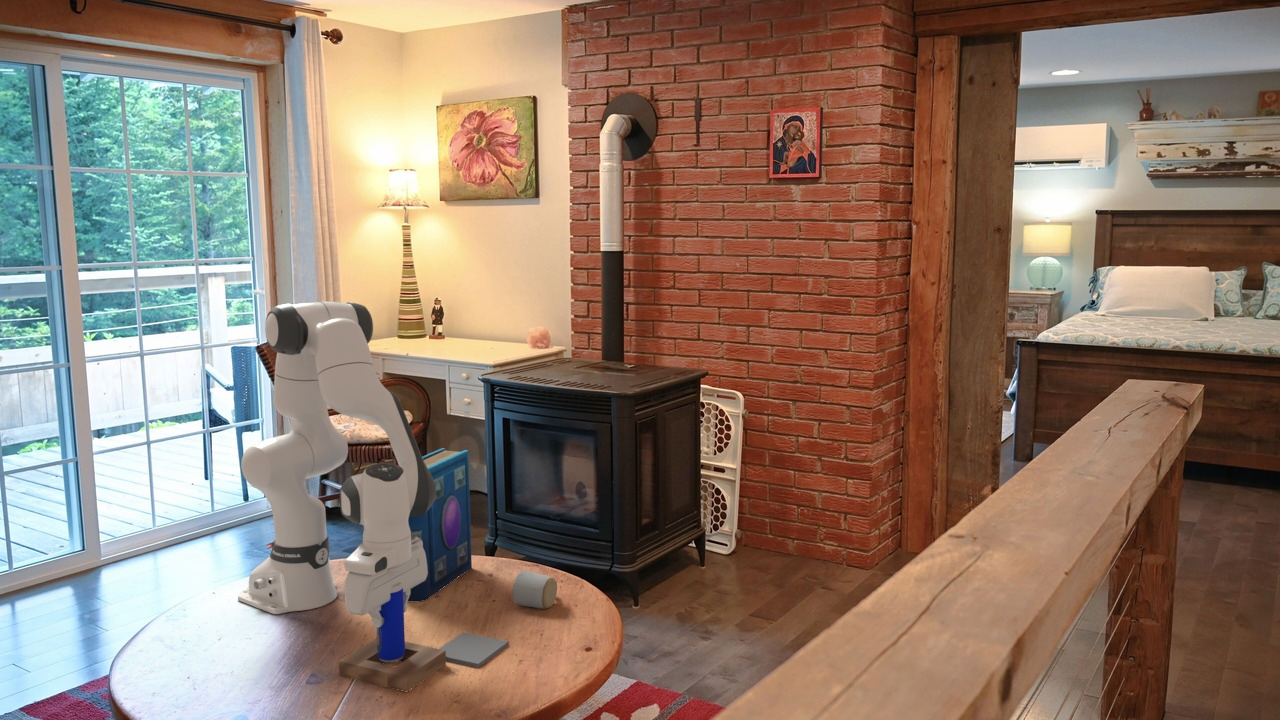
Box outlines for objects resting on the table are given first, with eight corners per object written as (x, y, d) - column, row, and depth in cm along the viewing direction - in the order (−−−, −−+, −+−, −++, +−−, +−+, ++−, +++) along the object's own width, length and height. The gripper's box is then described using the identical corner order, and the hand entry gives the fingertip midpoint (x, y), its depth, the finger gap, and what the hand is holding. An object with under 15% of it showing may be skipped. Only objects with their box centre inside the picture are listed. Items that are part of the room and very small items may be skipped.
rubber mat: (431, 657, 190) (431, 653, 190) (463, 635, 200) (463, 631, 200) (478, 667, 186) (478, 663, 185) (508, 644, 195) (508, 641, 195)
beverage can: (380, 651, 187) (377, 578, 184) (407, 650, 187) (404, 577, 185) (375, 663, 182) (372, 588, 179) (402, 663, 182) (400, 588, 180)
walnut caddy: (339, 675, 182) (338, 660, 182) (380, 650, 193) (379, 636, 193) (407, 692, 176) (406, 677, 176) (446, 664, 187) (445, 650, 186)
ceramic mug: (545, 614, 211) (544, 581, 210) (511, 609, 213) (511, 576, 212) (565, 597, 220) (564, 565, 219) (533, 593, 223) (532, 561, 222)
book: (425, 605, 216) (421, 475, 211) (391, 600, 219) (386, 471, 214) (476, 569, 238) (474, 450, 234) (445, 565, 241) (442, 447, 237)
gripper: (408, 531, 192) (410, 596, 194) (337, 564, 173) (340, 636, 175) (434, 535, 189) (436, 602, 191) (365, 570, 171) (368, 643, 173)
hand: (389, 619), depth 183 cm, fingers closed on beverage can, 5 cm apart
